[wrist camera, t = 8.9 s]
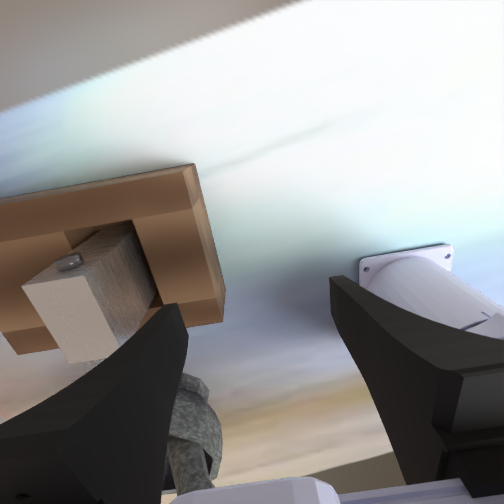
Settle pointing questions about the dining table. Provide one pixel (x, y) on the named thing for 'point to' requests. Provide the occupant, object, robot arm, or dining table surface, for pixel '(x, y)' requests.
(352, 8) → the dining table surface
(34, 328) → the slotted wooden frame
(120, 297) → the grey block with knob
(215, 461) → the mortar and pestle
